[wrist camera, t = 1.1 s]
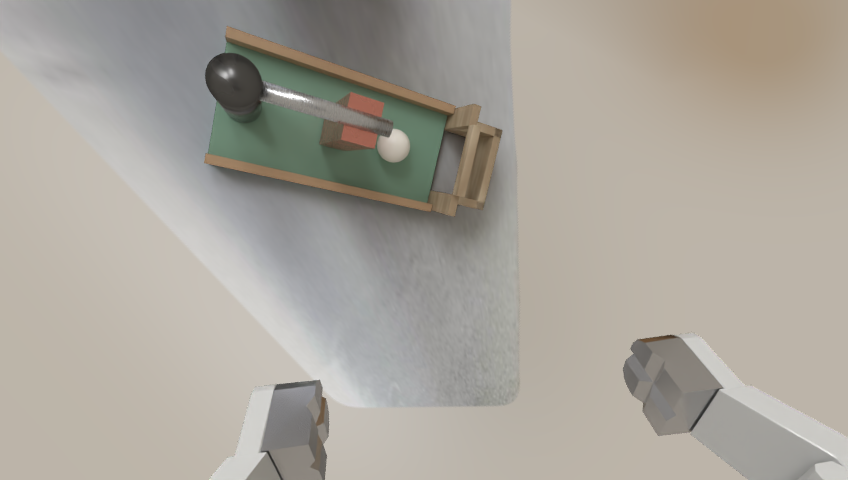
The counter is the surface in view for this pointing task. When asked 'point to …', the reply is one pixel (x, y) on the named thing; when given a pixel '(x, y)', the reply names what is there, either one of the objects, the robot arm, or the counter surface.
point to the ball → (394, 146)
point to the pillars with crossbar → (295, 104)
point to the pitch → (300, 133)
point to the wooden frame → (469, 162)
